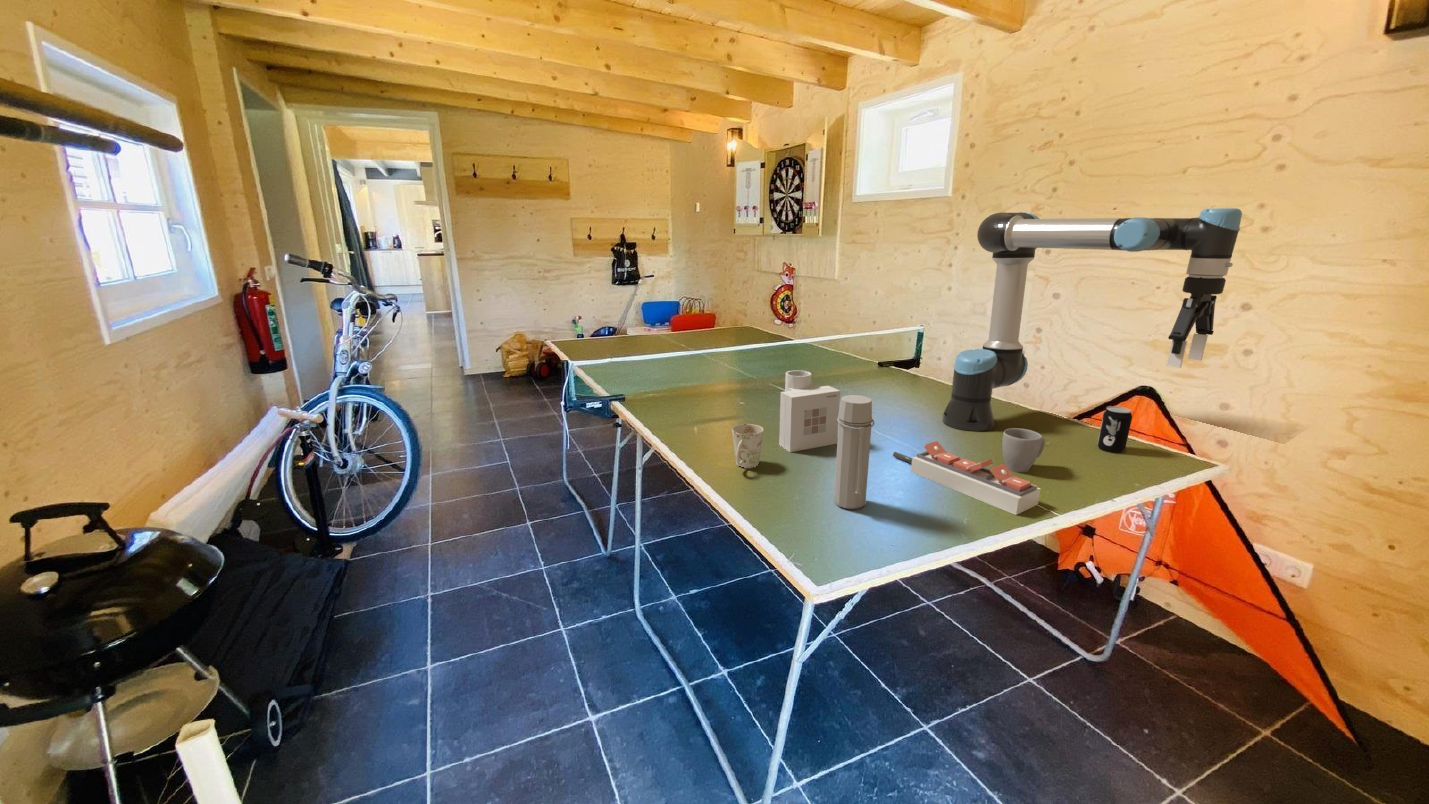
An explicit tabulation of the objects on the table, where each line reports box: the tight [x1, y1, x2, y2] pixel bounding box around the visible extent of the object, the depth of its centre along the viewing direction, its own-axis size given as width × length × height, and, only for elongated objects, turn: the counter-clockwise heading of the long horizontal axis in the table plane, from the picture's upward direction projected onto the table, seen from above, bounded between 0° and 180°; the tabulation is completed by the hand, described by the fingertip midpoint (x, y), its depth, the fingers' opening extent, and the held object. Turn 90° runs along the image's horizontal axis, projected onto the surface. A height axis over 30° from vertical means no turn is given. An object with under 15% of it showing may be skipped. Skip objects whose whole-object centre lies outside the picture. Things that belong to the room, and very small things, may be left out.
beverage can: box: [1096, 405, 1133, 454], centre depth 157 cm, size 7×7×12 cm
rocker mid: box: [953, 458, 994, 473], centre depth 135 cm, size 8×5×2 cm, turn 33°
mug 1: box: [731, 423, 765, 469], centre depth 147 cm, size 8×13×10 cm, turn 161°
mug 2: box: [1001, 427, 1046, 473], centre depth 146 cm, size 12×9×10 cm
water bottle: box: [833, 394, 875, 510], centre depth 124 cm, size 9×8×25 cm
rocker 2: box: [989, 462, 1032, 492], centre depth 127 cm, size 8×5×2 cm, turn 34°
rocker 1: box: [923, 440, 961, 465], centre depth 142 cm, size 8×5×2 cm, turn 34°
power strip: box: [892, 450, 1041, 516], centre depth 139 cm, size 37×9×5 cm, turn 33°
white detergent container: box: [778, 369, 841, 453], centre depth 167 cm, size 16×19×20 cm
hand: (1184, 363), depth 140 cm, fingers open, 13 cm apart
